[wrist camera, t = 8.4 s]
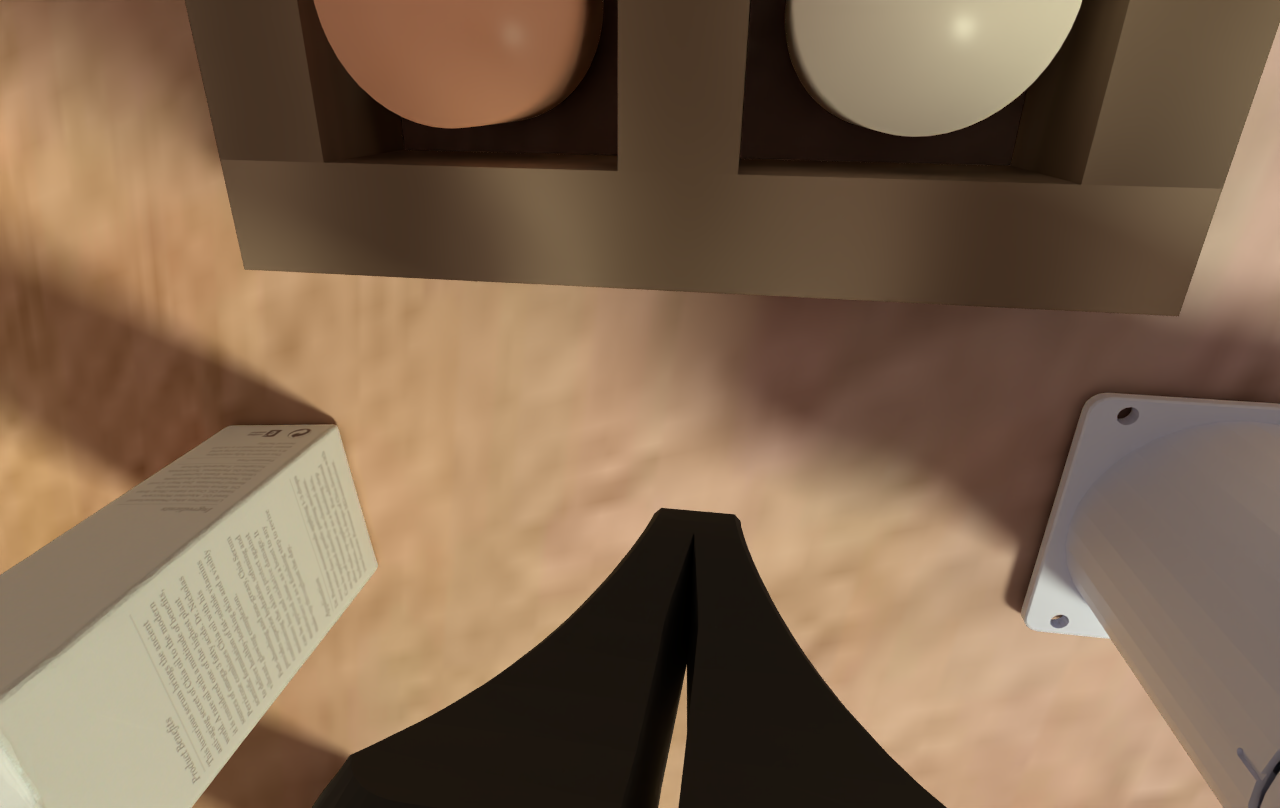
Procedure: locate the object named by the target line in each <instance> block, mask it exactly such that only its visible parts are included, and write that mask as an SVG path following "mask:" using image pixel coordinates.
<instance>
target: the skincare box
mask: <svg viewBox="0 0 1280 808" xmlns="http://www.w3.org/2000/svg"><path fill="white" fill-rule="evenodd" d="M377 568H378V563H377V560H376V557H375V554H374V551H373V547H372V544H371V541H370V537H369V534H368V530H367V527H366V523H365V520H364V516H363V513H362V509H361V506H360V502H359V499H358V496H357V492H356V489H355V485H354V482H353V478H352V475H351V471H350V468H349V464H348V461H347V457H346V454H345V450H344V447H343V444H342V440H341V436H340V433H339V429H338V426H337V425H334V424H315V425H233V426H228V427H226V428H224V429H222V430H221V431H219V432H218V433H216V434H215V435H213V436H212V437H210V438H209V439H207V440H206V441H204V442H203V443H201V444H200V445H198V446H197V447H195V448H193V449H192V450H190V451H189V452H187V453H186V454H184V455H183V456H181V457H180V458H178V459H176V460H175V461H173V462H172V463H170V464H169V465H167V466H166V467H164V468H163V469H161V470H160V471H158V472H157V473H155V474H154V475H152V476H151V477H149V478H147V479H146V480H144V481H143V482H141V483H140V484H138V485H137V486H135V487H134V488H132V489H131V490H129V491H128V492H126V493H125V494H123V495H122V496H120V497H119V498H117V499H116V500H114V501H113V502H111V503H109V504H108V505H106V506H105V507H103V508H102V509H100V510H99V511H97V512H96V513H94V514H93V515H91V516H90V517H88V518H87V519H85V520H83V521H82V522H81V523H79V524H77V525H76V526H74V527H73V528H71V529H70V530H68V531H67V532H65V533H64V534H62V535H61V536H59V537H57V538H56V539H55V540H53V541H52V542H50V543H49V544H47V545H46V546H44V547H42V548H41V549H39V550H38V551H36V552H35V553H33V554H32V555H31V556H29V557H27V558H26V559H24V560H23V561H21V562H19V563H18V564H16V565H15V566H13V567H12V568H10V569H9V570H7V571H6V572H4V573H3V574H1V575H0V808H192V806H193V805H194V804H195V803H196V801H197V800H198V799H199V797H200V796H201V795H202V794H203V792H204V791H205V790H206V789H207V787H208V786H209V785H210V783H211V782H212V781H213V779H214V778H215V777H216V776H217V774H218V773H219V772H220V770H221V769H222V768H223V767H224V765H225V764H226V763H227V761H228V760H229V759H230V758H231V756H232V755H233V754H234V752H235V751H236V750H237V749H238V747H239V746H240V744H241V743H242V742H243V741H244V739H245V738H246V737H247V736H248V734H249V733H250V732H251V731H252V729H253V728H254V727H255V726H256V724H257V723H258V722H259V720H260V719H261V718H262V716H263V715H264V714H265V713H266V711H267V710H268V709H269V707H270V706H271V705H272V704H273V702H274V701H275V700H276V698H277V697H278V696H279V695H280V693H281V692H282V691H283V689H284V688H285V687H286V686H287V684H288V683H289V682H290V680H291V679H292V678H293V677H294V675H295V674H296V673H297V671H298V670H299V669H300V668H301V666H302V665H303V664H304V662H305V661H306V660H307V659H308V657H309V656H310V655H311V653H312V652H313V651H314V650H315V648H316V647H317V646H318V644H319V643H320V642H321V641H322V639H323V638H324V637H325V635H326V634H327V633H328V632H329V630H330V629H331V628H332V626H333V625H334V624H335V623H336V621H337V620H338V619H339V618H340V616H341V615H342V613H343V612H344V611H345V610H346V608H347V607H348V606H349V605H350V603H351V602H352V601H353V600H354V598H355V597H356V596H357V594H358V593H359V592H360V591H361V589H362V588H363V587H364V585H365V584H366V583H367V581H368V580H369V579H370V578H371V576H372V575H373V574H374V572H375V571H376V569H377Z"/></svg>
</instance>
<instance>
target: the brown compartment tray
mask: <svg viewBox="0 0 1280 808" xmlns="http://www.w3.org/2000/svg"><path fill="white" fill-rule="evenodd" d="M185 3H186V8H187V12H188V17H189V21H190V26H191V30H192V35H193V39H194V44H195V48H196V53H197V57H198V62H199V66H200V71H201V75H202V80H203V84H204V89H205V93H206V98H207V102H208V107H209V111H210V116H211V121H212V125H213V130H214V134H215V139H216V143H217V148H218V152H219V157H220V161H221V166H222V170H223V175H224V179H225V184H226V188H227V193H228V197H229V202H230V206H231V211H232V215H233V220H234V224H235V229H236V233H237V238H238V242H239V247H240V251H241V256H242V260H243V265H244V269H245V270H265V271H285V272H305V273H325V274H345V275H365V276H385V277H405V278H425V279H445V280H465V281H485V282H505V283H525V284H545V285H565V286H585V287H605V288H625V289H645V290H665V291H685V292H705V293H725V294H745V295H765V296H785V297H805V298H825V299H845V300H865V301H885V302H905V303H925V304H945V305H965V306H985V307H1005V308H1025V309H1045V310H1065V311H1085V312H1105V313H1125V314H1146V315H1166V316H1179V314H1180V311H1181V308H1182V305H1183V302H1184V299H1185V296H1186V293H1187V290H1188V287H1189V285H1190V282H1191V279H1192V276H1193V273H1194V270H1195V267H1196V264H1197V261H1198V258H1199V255H1200V253H1201V250H1202V247H1203V244H1204V241H1205V238H1206V235H1207V232H1208V229H1209V226H1210V223H1211V221H1212V218H1213V215H1214V212H1215V209H1216V206H1217V203H1218V200H1219V197H1220V194H1221V192H1222V189H1223V186H1224V183H1225V180H1226V177H1227V174H1228V171H1229V168H1230V165H1231V162H1232V160H1233V157H1234V154H1235V151H1236V148H1237V145H1238V142H1239V139H1240V136H1241V133H1242V130H1243V128H1244V125H1245V122H1246V119H1247V116H1248V113H1249V110H1250V107H1251V104H1252V101H1253V99H1254V96H1255V93H1256V90H1257V87H1258V84H1259V81H1260V78H1261V75H1262V72H1263V69H1264V67H1265V64H1266V61H1267V58H1268V55H1269V52H1270V49H1271V46H1272V43H1273V40H1274V37H1275V35H1276V32H1277V29H1278V26H1279V23H1280V0H1082V3H1081V6H1080V9H1079V12H1078V14H1077V16H1076V19H1075V21H1074V23H1073V26H1072V28H1071V30H1070V32H1069V34H1068V35H1067V37H1066V39H1065V41H1064V43H1063V44H1062V46H1061V48H1060V49H1059V51H1058V52H1057V54H1056V55H1055V57H1054V58H1053V59H1052V61H1051V62H1050V64H1049V65H1048V66H1047V68H1046V69H1045V70H1044V71H1043V72H1042V73H1041V74H1040V76H1039V77H1038V78H1037V79H1036V80H1035V81H1034V82H1033V83H1032V84H1031V85H1030V86H1029V87H1028V88H1027V93H1026V97H1025V102H1024V106H1023V111H1022V115H1021V120H1020V124H1019V129H1018V133H1017V138H1016V142H1015V147H1014V152H1013V156H1012V161H1011V165H1010V166H1008V165H970V164H932V163H894V162H856V161H818V160H779V159H741V158H740V148H741V134H742V119H743V105H744V90H745V76H746V61H747V46H748V32H749V17H750V3H751V0H618V155H589V154H550V153H512V152H474V151H436V150H404V141H403V133H402V124H401V116H399V115H398V114H396V113H394V112H392V111H390V110H388V109H387V108H385V107H384V106H383V105H381V104H380V103H379V102H377V101H376V100H374V99H373V98H372V97H371V96H370V95H369V94H368V93H367V92H365V91H364V90H363V89H362V88H361V87H360V86H359V85H358V84H357V82H356V81H355V80H354V79H353V78H352V77H351V76H350V74H349V73H348V72H347V70H346V69H345V68H344V66H343V65H342V63H341V62H340V61H339V59H338V58H337V56H336V54H335V52H334V51H333V49H332V47H331V45H330V43H329V42H328V39H327V37H326V35H325V32H324V30H323V28H322V25H321V23H320V20H319V17H318V14H317V11H316V7H315V4H314V0H185Z"/></svg>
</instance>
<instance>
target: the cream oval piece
mask: <svg viewBox="0 0 1280 808" xmlns="http://www.w3.org/2000/svg"><path fill="white" fill-rule="evenodd" d="M1081 3H1082V0H786V7H785V33H786V42H787V47H788V52H789V56H790V59H791V62H792V64H793V67H794V70H795V72H796V74H797V76H798V78H799V80H800V82H801V83H802V85H803V86H804V88H805V89H806V90H807V92H808V93H809V95H810V96H811V97H812V98H813V99H814V100H815V101H816V102H817V103H818V104H819V105H820V106H822V107H823V108H824V109H825V110H827V111H828V112H829V113H831V114H833V115H834V116H836V117H838V118H839V119H841V120H844V121H846V122H849V123H851V124H854V125H858V126H861V127H865V128H868V129H872V130H876V131H879V132H884V133H888V134H892V135H898V136H909V137H919V136H933V135H939V134H944V133H949V132H953V131H956V130H959V129H962V128H966V127H968V126H970V125H973V124H975V123H977V122H979V121H982V120H984V119H986V118H987V117H989V116H991V115H992V114H994V113H996V112H998V111H999V110H1001V109H1002V108H1004V107H1005V106H1006V105H1008V104H1009V103H1010V102H1012V101H1013V100H1014V99H1016V98H1017V97H1018V96H1019V95H1021V94H1022V93H1023V92H1024V91H1025V90H1026V89H1027V88H1028V87H1029V86H1030V85H1031V84H1032V83H1033V82H1034V81H1035V80H1036V79H1037V78H1038V77H1039V76H1040V74H1041V73H1042V72H1043V71H1044V70H1045V69H1046V68H1047V66H1048V65H1049V64H1050V62H1051V61H1052V59H1053V58H1054V57H1055V55H1056V54H1057V52H1058V51H1059V49H1060V48H1061V46H1062V44H1063V43H1064V41H1065V39H1066V37H1067V35H1068V34H1069V32H1070V30H1071V28H1072V26H1073V23H1074V21H1075V19H1076V16H1077V14H1078V12H1079V9H1080V6H1081Z"/></svg>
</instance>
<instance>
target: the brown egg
mask: <svg viewBox="0 0 1280 808" xmlns="http://www.w3.org/2000/svg"><path fill="white" fill-rule="evenodd" d="M314 4H315V7H316V11H317V14H318V17H319V20H320V23H321V25H322V28H323V30H324V32H325V35H326V37H327V39H328V42H329V43H330V45H331V47H332V49H333V51H334V52H335V54H336V56H337V58H338V59H339V61H340V62H341V63H342V65H343V66H344V68H345V69H346V70H347V72H348V73H349V74H350V76H351V77H352V78H353V79H354V80H355V81H356V82H357V84H358V85H359V86H360V87H361V88H362V89H363V90H364V91H365V92H367V93H368V94H369V95H370V96H371V97H372V98H373V99H374V100H376V101H377V102H379V103H380V104H381V105H383V106H384V107H385V108H387V109H388V110H390V111H392V112H394V113H396V114H398V115H399V116H401V117H403V118H406V119H408V120H411V121H413V122H416V123H419V124H423V125H427V126H432V127H439V128H466V127H474V126H483V125H492V124H500V123H509V122H517V121H522V120H527V119H531V118H534V117H536V116H539V115H542V114H544V113H546V112H547V111H549V110H551V109H553V108H554V107H556V106H557V105H558V104H560V103H561V102H562V101H564V100H565V99H566V98H567V97H568V96H569V95H570V94H571V93H572V92H573V91H574V90H575V88H576V87H577V86H578V85H579V83H580V82H581V81H582V79H583V78H584V76H585V74H586V72H587V71H588V69H589V67H590V65H591V63H592V60H593V58H594V56H595V53H596V50H597V46H598V43H599V39H600V35H601V29H602V22H603V0H314Z"/></svg>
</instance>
